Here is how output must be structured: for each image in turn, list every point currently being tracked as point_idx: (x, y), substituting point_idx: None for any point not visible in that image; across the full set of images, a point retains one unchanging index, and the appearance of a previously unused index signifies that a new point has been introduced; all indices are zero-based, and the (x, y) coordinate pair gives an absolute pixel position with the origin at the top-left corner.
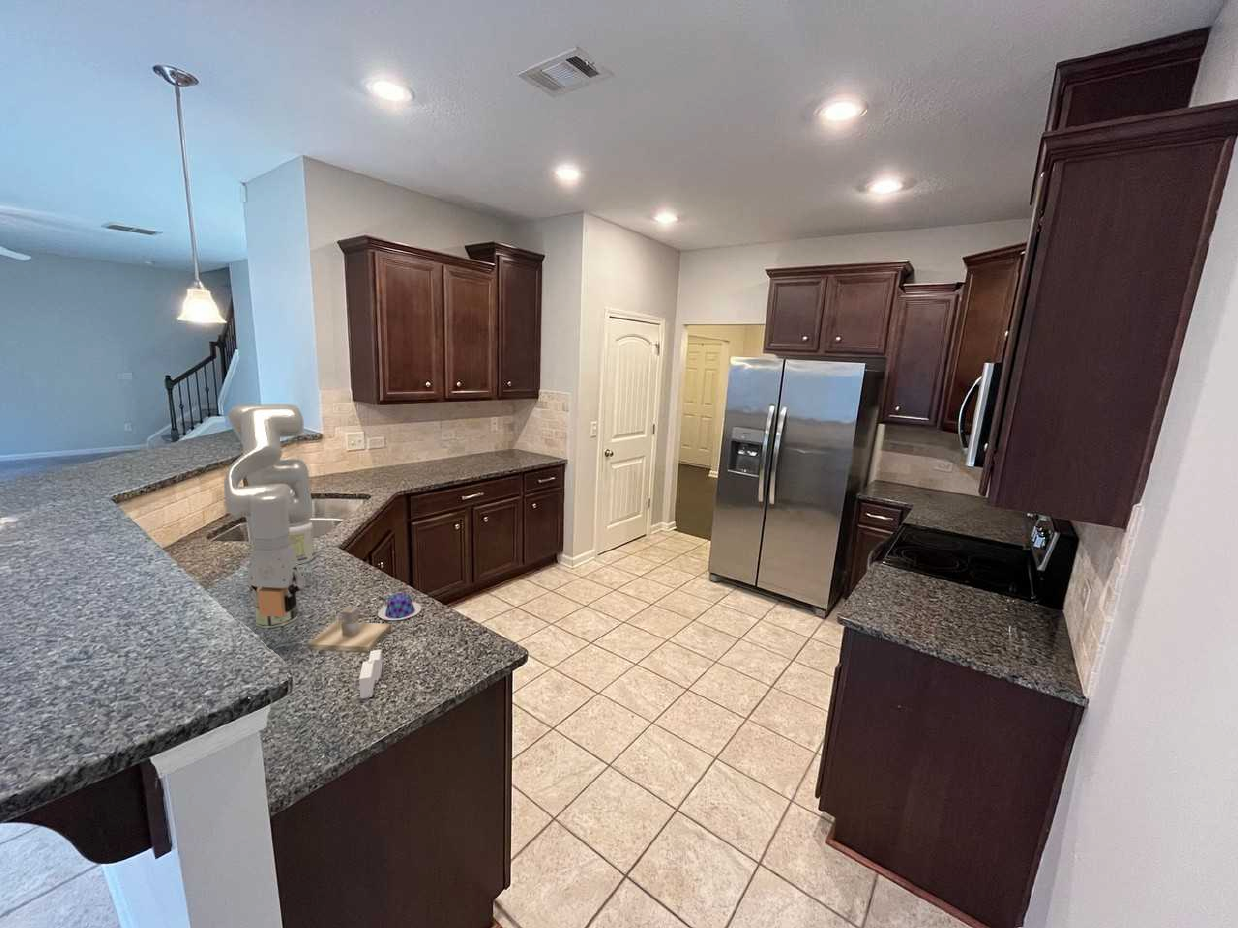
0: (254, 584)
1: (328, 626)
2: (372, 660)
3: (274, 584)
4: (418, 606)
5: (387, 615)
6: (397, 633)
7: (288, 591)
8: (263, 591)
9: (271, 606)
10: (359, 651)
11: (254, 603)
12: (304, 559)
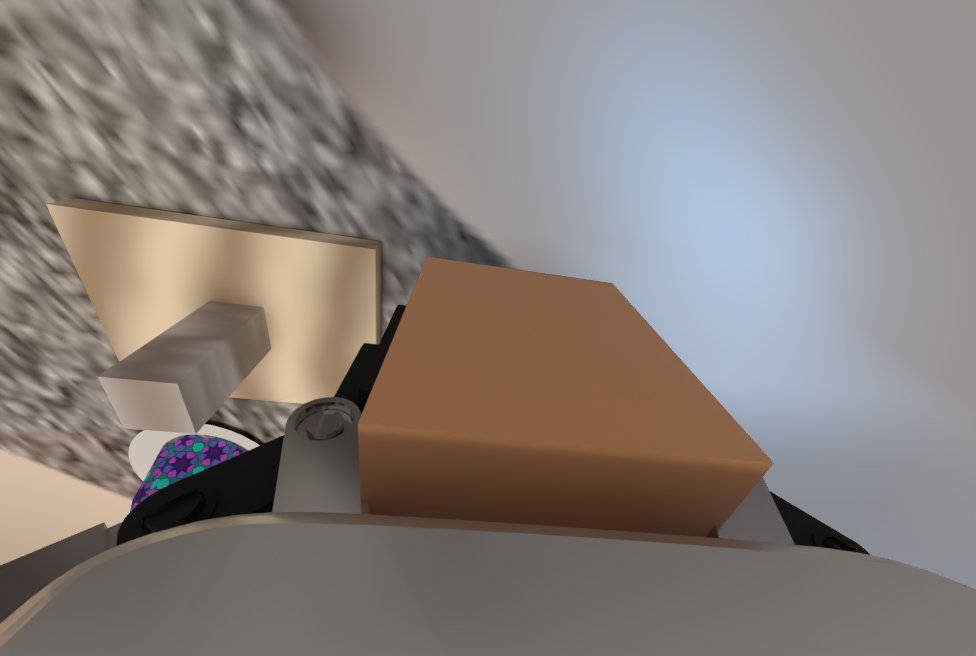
0: (952, 608)
1: None
2: None
3: (441, 633)
4: None
5: (240, 450)
6: (91, 343)
7: (294, 467)
8: (671, 450)
9: (520, 305)
10: (127, 206)
11: None
12: None
